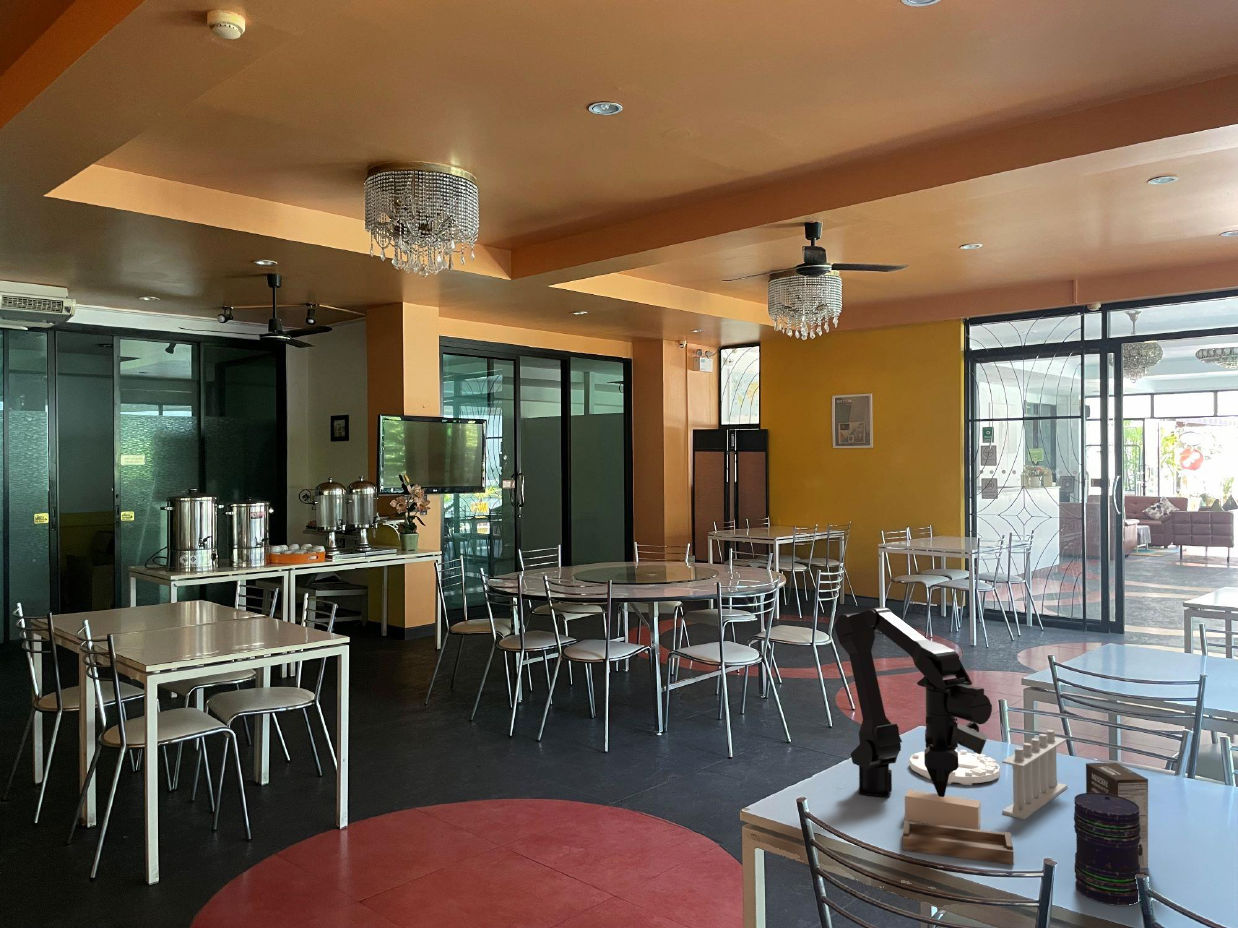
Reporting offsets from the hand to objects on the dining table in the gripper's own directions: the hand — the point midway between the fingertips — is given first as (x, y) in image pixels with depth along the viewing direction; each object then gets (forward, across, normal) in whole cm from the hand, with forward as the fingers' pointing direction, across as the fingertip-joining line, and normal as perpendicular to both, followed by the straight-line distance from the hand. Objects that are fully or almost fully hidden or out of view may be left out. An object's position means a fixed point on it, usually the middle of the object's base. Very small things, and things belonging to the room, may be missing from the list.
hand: (941, 788), depth 180 cm
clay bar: (+7, 0, 0) cm, 7 cm away
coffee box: (+7, -8, -30) cm, 32 cm away
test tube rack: (+7, +18, -19) cm, 28 cm away
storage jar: (+7, -23, -26) cm, 35 cm away
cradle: (+6, -13, -3) cm, 14 cm away
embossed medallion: (+7, +33, -3) cm, 34 cm away
